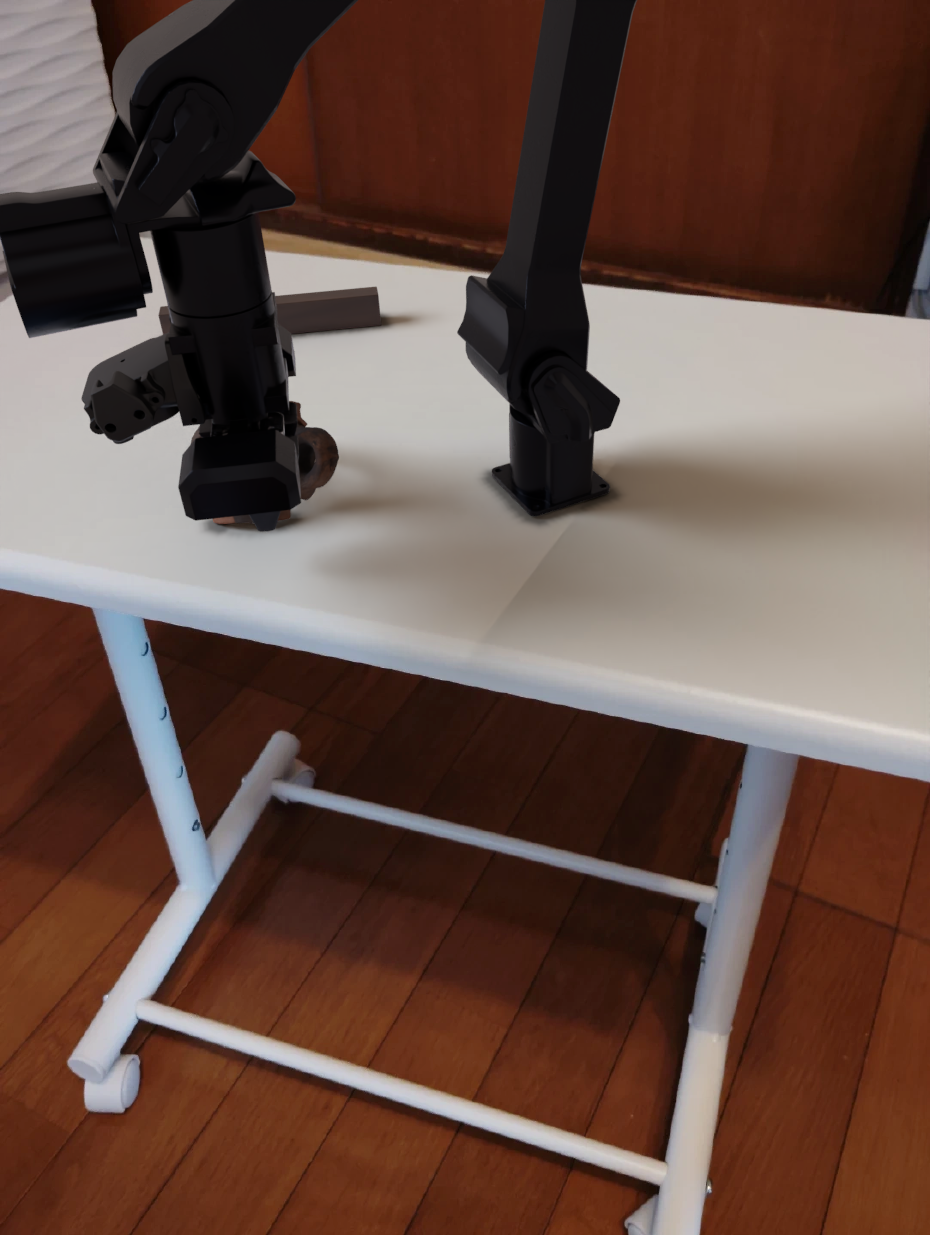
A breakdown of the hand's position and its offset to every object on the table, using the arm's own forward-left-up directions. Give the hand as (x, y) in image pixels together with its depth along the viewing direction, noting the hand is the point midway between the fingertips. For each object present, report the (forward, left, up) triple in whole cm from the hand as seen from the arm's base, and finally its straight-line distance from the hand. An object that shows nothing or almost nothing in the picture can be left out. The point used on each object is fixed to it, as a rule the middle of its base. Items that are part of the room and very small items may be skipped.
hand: (267, 528), depth 66 cm
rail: (+35, -11, -3) cm, 37 cm away
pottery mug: (+8, -3, -3) cm, 9 cm away
